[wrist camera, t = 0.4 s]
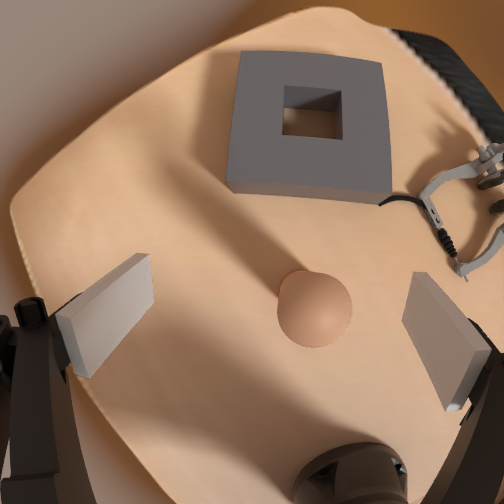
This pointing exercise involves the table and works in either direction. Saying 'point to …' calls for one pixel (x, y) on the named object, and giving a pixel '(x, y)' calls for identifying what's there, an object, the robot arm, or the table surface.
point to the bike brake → (470, 171)
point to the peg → (313, 308)
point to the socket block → (310, 148)
